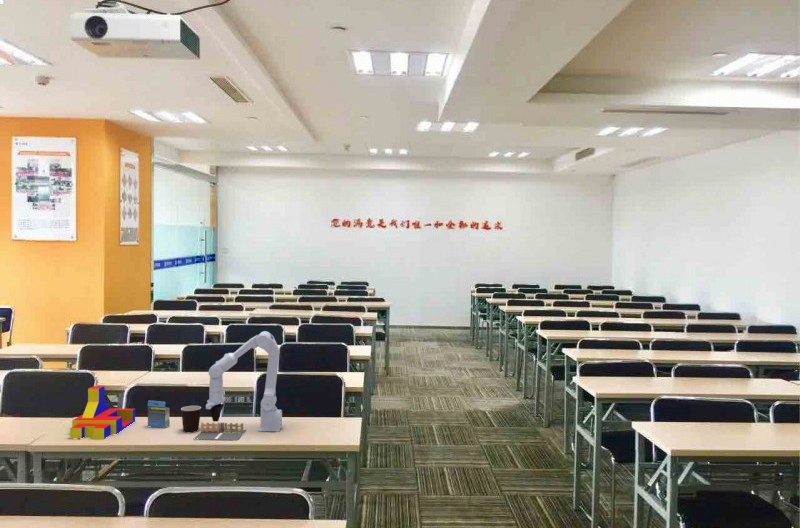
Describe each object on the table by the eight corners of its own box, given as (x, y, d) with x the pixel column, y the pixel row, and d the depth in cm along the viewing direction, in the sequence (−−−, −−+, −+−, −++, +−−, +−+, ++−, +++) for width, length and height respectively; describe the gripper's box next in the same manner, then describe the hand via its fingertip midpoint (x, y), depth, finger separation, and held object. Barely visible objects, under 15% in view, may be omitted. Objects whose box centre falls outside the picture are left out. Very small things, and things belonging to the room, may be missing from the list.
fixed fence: (243, 432, 256) (243, 422, 256) (242, 434, 254) (242, 423, 254) (220, 432, 256) (220, 422, 256) (219, 433, 254) (219, 423, 254)
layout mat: (246, 430, 259) (246, 429, 259) (237, 440, 245) (237, 439, 245) (204, 429, 259) (204, 429, 259) (192, 439, 245) (192, 439, 245)
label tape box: (169, 425, 264) (170, 399, 264) (165, 428, 260) (165, 401, 260) (152, 424, 266) (152, 398, 265) (147, 427, 262) (147, 400, 261)
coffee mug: (196, 433, 254) (197, 411, 254) (177, 433, 254) (177, 410, 254) (206, 425, 266) (206, 404, 265) (187, 425, 266) (187, 403, 266)
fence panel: (219, 431, 255) (219, 422, 255) (219, 432, 254) (219, 423, 254) (201, 431, 255) (201, 422, 255) (200, 432, 254) (200, 423, 254)
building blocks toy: (64, 439, 244) (64, 396, 244) (94, 422, 269) (94, 383, 269) (109, 440, 245) (109, 397, 244) (135, 422, 270) (135, 383, 269)
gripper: (215, 386, 267) (215, 415, 267) (199, 394, 253) (199, 425, 253) (229, 387, 266) (229, 417, 266) (214, 395, 251) (214, 426, 252)
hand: (215, 421), depth 259 cm, fingers closed
